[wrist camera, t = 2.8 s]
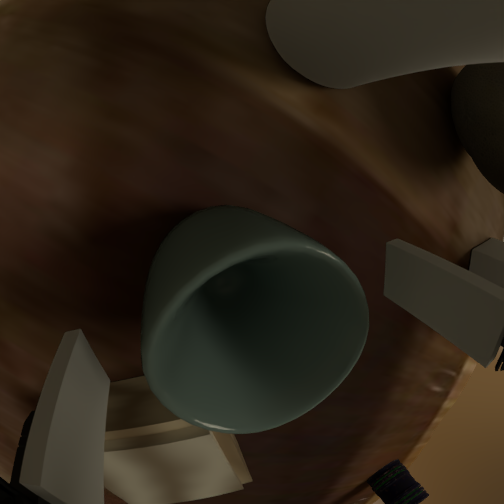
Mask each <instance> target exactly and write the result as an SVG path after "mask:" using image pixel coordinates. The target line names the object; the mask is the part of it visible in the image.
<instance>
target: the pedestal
mask: <svg viewBox="0 0 504 504" xmlns="http://www.w3.org/2000/svg"><path fill="white" fill-rule="evenodd" d="M251 481H252V478H251V476H250V473H249V471H248V468H247V466H246V463H245V461H244V458H243V455H242V453H241V450H240V448H239V445H238V443H237V440H236V438H235V436H234V434H226V433H220V432H214V431H209V430H206V429H203V428H200V427H197V426H194V425H192V424H190V423H188V422H186V421H184V420H182V419H181V418H179V417H177V416H176V415H174V414H173V413H172V412H171V411H169V410H168V409H167V408H166V407H165V406H163V405H162V404H161V403H160V402H159V400H158V399H157V398H156V396H155V395H154V394H153V392H152V391H151V390H150V388H149V385H148V383H147V380H146V378H145V376H140V377H135V378H131V379H126V380H121V381H115V382H110V387H109V395H108V404H107V414H106V426H105V442H104V487H105V488H107V489H108V490H109V491H111V492H112V493H114V494H115V495H117V496H118V497H120V498H121V499H123V500H124V501H126V502H127V503H129V504H170V503H178V502H185V501H191V500H197V499H202V498H207V497H212V496H217V495H221V494H225V493H230V492H233V491H237V490H241V489H244V488H243V486H242V484H244V483H247V482H251Z"/></svg>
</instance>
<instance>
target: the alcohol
mask: <svg viewBox="0 0 504 504" xmlns="http://www.w3.org/2000/svg"><path fill="white" fill-rule="evenodd" d="M265 19H266V28H267V31H268V34H269V37H270V39H271V41H272V43H273V45H274V47H275V48H276V50H277V52H278V53H279V54H280V56H281V57H282V58H283V60H284V61H285V62H286V63H287V64H288V65H290V66H291V67H292V68H293V69H294V70H296V71H297V72H298V73H300V74H301V75H303V76H304V77H305V78H307V79H309V80H311V81H313V82H315V83H317V84H320V85H323V86H326V87H329V88H336V89H349V88H353V87H356V86H360V85H363V84H367V83H371V82H375V81H379V80H383V79H387V78H391V77H396V76H400V75H405V74H410V73H415V72H420V71H426V70H431V69H438V68H444V67H451V66H459V65H468V64H479V63H493V62H504V0H270V2H269V4H268V6H267V10H266V16H265Z"/></svg>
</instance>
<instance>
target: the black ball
mask: <svg viewBox="0 0 504 504" xmlns="http://www.w3.org/2000/svg"><path fill="white" fill-rule="evenodd" d="M451 114H452V119H453V122H454V126H455V129H456V132H457V135H458V137H459V139H460V141H461V143H462V145H463V147H464V148H465V150H466V152H467V153H468V154H469V155H470V156H471V157H472V159H473V161H474V163H475V164H476V166H477V168H478V169H479V171H480V172H481V173H482V175H483V176H484V177H485V178H486V179H487V180H488V181H489V182H490V183H491V184H492V185H493V186H494V187H495V188H496V189H497V190H499V191H500V192H502V193H503V194H504V62H493V63H479V64H468V65H466V66H465V67H464V68H463V69H462V70H461V71H460V73H459V74H458V75H457V77H456V78H455V80H454V83H453V86H452V90H451Z"/></svg>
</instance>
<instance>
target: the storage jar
mask: <svg viewBox="0 0 504 504" xmlns="http://www.w3.org/2000/svg"><path fill="white" fill-rule="evenodd" d="M402 465H403V464H402V463H400V461H399V460H398V459H397V460H394V461H392V462H390V463H389V464H387V465H386V466H384V467H383V468H381V469H380V470H379V471H377V472H376V473H375V474H374V475H372V476H371V477H370V478H369V479H368V481H367V482H368V484H370V486H371V487H372V490H373V491H374V492H375V491H376V492H375V493H376V494H377V496H379V497H380V498H381V499H382V501H383V502H384V503H385V504H419V503H420V502H422V501H423V500H424V499H425V498H427V497H428V496H429V494H428V493H426V491H425V490H424V488H423V487H420V486H421V485H420V484H419V483H418V482H416V481H415V480H414V478H413V477H412V476H411V475H410V473H409V471H408V470H407V469H406V467H405V466H404V465H403V466H402ZM419 487H420V488H419ZM423 490H424V491H423Z"/></svg>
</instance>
